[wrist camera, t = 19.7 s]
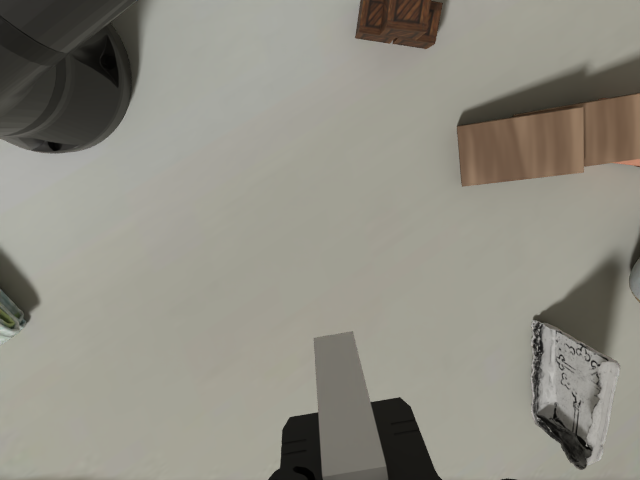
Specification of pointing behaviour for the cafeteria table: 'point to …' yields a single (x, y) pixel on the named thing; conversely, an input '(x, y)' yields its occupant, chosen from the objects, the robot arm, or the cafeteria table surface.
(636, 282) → the ceramic mug
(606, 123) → the domino
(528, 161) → the domino
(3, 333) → the towel
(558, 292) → the cafeteria table surface
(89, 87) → the robot arm
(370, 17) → the stack of crates
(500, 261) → the cafeteria table surface
